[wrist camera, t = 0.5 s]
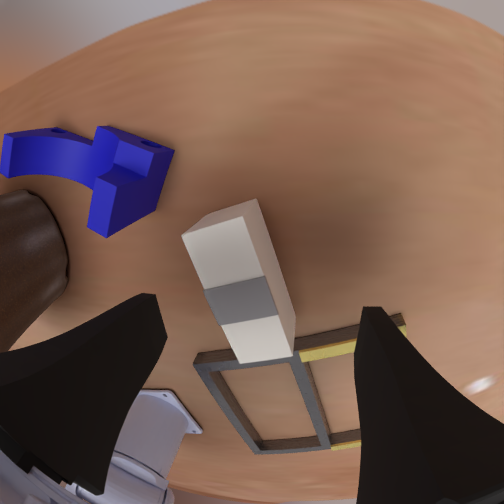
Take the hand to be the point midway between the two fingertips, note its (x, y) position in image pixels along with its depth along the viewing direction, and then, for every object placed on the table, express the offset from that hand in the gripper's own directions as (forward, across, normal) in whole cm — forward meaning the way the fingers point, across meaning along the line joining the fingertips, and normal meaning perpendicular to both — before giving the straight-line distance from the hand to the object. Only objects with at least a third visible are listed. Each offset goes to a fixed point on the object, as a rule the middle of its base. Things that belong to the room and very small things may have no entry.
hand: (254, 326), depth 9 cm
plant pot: (+9, +25, +1) cm, 27 cm away
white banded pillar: (+10, +2, +3) cm, 10 cm away
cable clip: (+10, +13, -6) cm, 18 cm away
